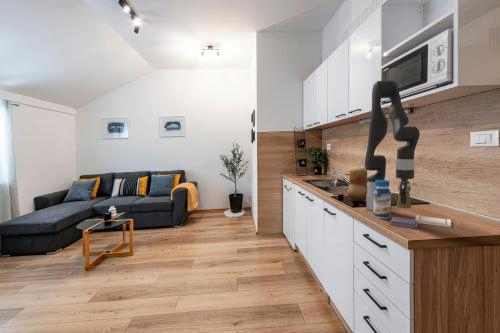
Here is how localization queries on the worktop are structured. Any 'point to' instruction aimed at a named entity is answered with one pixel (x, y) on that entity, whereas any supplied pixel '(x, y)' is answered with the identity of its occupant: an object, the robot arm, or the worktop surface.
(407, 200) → the olive rounded piece
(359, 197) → the butternut squash
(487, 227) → the worktop surface
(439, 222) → the marked board
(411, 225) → the ink pad
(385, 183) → the beverage bottle
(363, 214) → the worktop surface
